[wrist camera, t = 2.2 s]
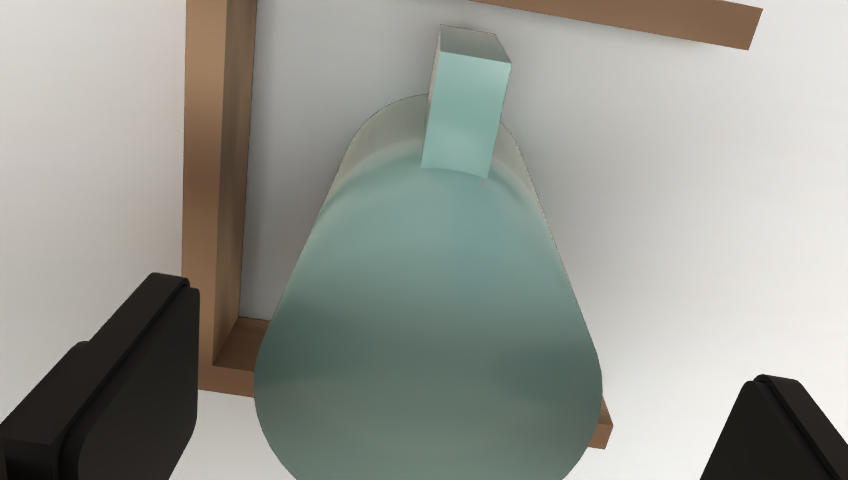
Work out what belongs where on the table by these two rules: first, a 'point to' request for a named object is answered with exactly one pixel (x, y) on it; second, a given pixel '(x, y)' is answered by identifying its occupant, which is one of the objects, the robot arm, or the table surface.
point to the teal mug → (431, 303)
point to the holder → (229, 139)
